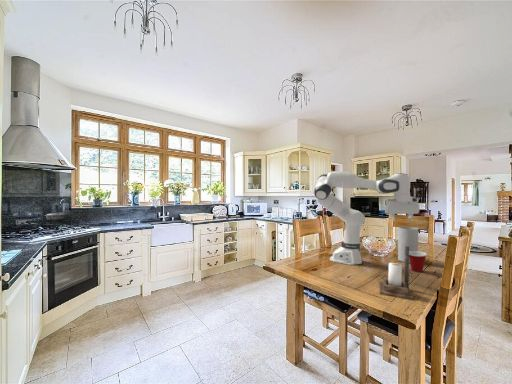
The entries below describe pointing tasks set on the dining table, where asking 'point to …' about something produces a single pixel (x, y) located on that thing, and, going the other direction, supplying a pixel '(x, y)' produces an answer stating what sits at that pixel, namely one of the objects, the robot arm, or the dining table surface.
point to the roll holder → (404, 289)
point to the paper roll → (395, 274)
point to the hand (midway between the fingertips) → (401, 220)
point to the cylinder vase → (407, 241)
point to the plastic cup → (417, 260)
